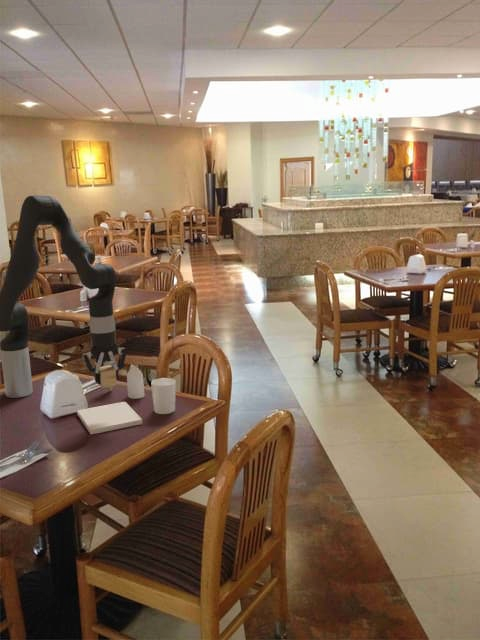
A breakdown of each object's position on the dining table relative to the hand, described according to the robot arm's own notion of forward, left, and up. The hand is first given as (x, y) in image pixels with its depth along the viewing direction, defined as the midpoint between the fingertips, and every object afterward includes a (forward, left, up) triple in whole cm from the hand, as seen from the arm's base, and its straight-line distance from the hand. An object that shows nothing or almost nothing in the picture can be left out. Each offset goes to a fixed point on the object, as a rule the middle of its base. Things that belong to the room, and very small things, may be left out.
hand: (106, 382), depth 179 cm
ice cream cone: (-26, +8, -13) cm, 30 cm away
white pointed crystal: (-16, +14, -13) cm, 25 cm away
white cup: (+2, +18, -13) cm, 22 cm away
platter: (0, 0, -12) cm, 12 cm away
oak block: (0, 0, -1) cm, 1 cm away
